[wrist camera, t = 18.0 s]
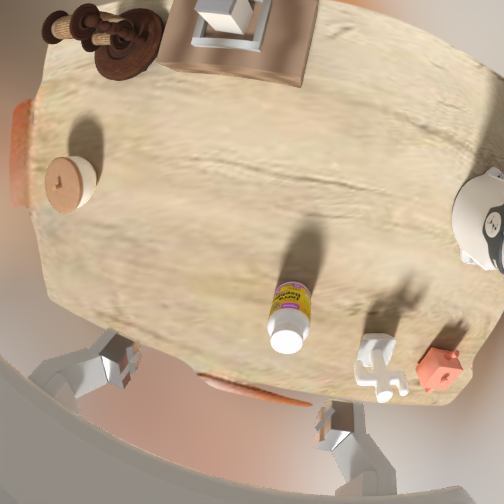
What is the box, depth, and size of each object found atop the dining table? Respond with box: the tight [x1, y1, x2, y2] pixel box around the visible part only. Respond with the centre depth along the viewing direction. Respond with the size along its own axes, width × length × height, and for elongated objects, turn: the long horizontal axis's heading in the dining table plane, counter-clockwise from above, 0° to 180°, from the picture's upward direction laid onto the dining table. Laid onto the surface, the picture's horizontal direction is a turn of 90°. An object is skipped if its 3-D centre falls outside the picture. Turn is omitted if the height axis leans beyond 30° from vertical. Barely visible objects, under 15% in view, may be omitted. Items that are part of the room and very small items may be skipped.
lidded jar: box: [45, 156, 97, 214], centre depth 44 cm, size 11×11×9 cm
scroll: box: [42, 4, 165, 81], centre depth 28 cm, size 15×15×20 cm
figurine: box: [354, 333, 409, 403], centre depth 45 cm, size 7×9×15 cm
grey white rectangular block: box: [194, 0, 253, 35], centre depth 24 cm, size 4×4×8 cm
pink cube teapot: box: [416, 347, 463, 393], centre depth 47 cm, size 8×12×8 cm, turn 166°
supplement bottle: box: [267, 281, 311, 354], centre depth 45 cm, size 7×7×13 cm
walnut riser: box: [156, 0, 318, 88], centre depth 30 cm, size 20×14×10 cm
